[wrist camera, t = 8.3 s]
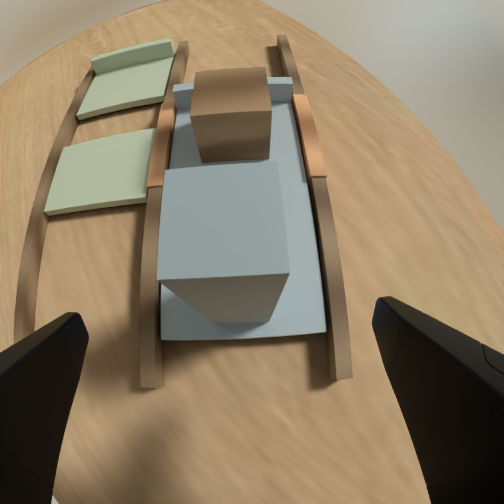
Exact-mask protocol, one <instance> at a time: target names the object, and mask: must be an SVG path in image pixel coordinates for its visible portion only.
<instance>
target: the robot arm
mask: <svg viewBox="0 0 504 504" xmlns="http://www.w3.org/2000/svg"><path fill="white" fill-rule="evenodd" d="M372 327H373V331H374V334H375V337H376V340H377V344H378V347H379V350H380V354H381V357H382V361H383V364H384V367H385V370H386V373H387V376H388V378H389V380H390V383H391V385H392V388H393V391H394V393H395V396H396V398H397V401H398V403H399V406H400V409H401V411H402V414H403V417H404V419H405V422H406V425H407V428H408V431H409V433H410V436H411V439H412V442H413V445H414V448H415V451H416V454H417V457H418V460H419V463H420V466H421V470H422V473H423V476H424V479H425V483H426V487H427V490H428V494H429V497H430V501H431V504H504V354H502V353H500V352H498V351H496V350H494V349H492V348H490V347H488V346H486V345H484V344H481V343H480V342H479V341H477V340H475V339H473V338H471V337H469V336H467V335H465V334H464V333H462V332H460V331H458V330H456V329H454V328H452V327H450V326H448V325H446V324H444V323H442V322H440V321H438V320H437V319H435V318H433V317H431V316H429V315H427V314H425V313H423V312H421V311H419V310H417V309H415V308H413V307H411V306H409V305H407V304H405V303H403V302H401V301H399V300H397V299H395V298H393V297H391V296H387V297H380V298H378V299H377V301H376V305H375V310H374V314H373V319H372ZM88 340H89V335H88V332H87V329H86V327H85V325H84V322H83V320H82V317H81V315H80V314H79V313H77V312H67V313H65V314H63V315H62V316H60V317H58V318H57V319H55V320H53V321H52V322H50V323H48V324H46V325H45V326H43V327H41V328H40V329H38V330H36V331H35V332H33V333H31V334H30V335H28V336H27V337H25V338H23V339H22V340H20V341H18V342H17V343H15V344H14V345H12V346H10V347H9V348H7V349H5V350H4V351H2V352H1V353H0V504H51V501H52V494H53V487H54V481H55V475H56V469H57V464H58V459H59V455H60V450H61V445H62V441H63V437H64V433H65V429H66V425H67V421H68V417H69V414H70V410H71V406H72V403H73V399H74V396H75V393H76V389H77V386H78V383H79V379H80V375H81V371H82V366H83V362H84V357H85V353H86V349H87V345H88Z"/></svg>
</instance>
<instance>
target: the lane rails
mask: <svg viewBox="0 0 504 504" xmlns="http://www.w3.org/2000/svg"><path fill="white" fill-rule="evenodd" d="M277 47H278V51H279V55H280V59H281V63H282V67H283V71H284V75H285V77H292V81H293V90H292V98H291V104H292V109H293V114H294V118H295V123H296V128H297V133H298V137H299V142H300V147H301V153H302V158H303V163H304V169H305V174H306V180H307V185H308V191H309V197H310V203H311V209H312V216H313V222H314V229H315V236H316V243H317V250H318V258H319V265H320V273H321V282H322V290H323V300H324V309H325V319H326V330H327V342H328V355H329V369H330V378H331V379H334V380H342V379H348V378H353V375H352V360H351V347H350V336H349V326H348V316H347V307H346V298H345V290H344V283H343V275H342V268H341V262H340V255H339V249H338V242H337V236H336V230H335V225H334V219H333V214H332V208H331V203H330V198H329V193H328V188H327V183H326V177H327V173H326V168H325V164H324V160H323V155H322V151H321V147H320V143H319V139H318V135H317V131H316V127H315V123H314V120H313V116H312V112H311V109H310V105H309V102H308V98H307V95H306V94H304V91H303V87H302V84H301V80H300V77H299V74H298V70H297V67H296V64H295V61H294V58H293V55H292V52H291V49H290V46H289V43H288V40H287V37H286V35H277ZM188 55H189V46H188V41H183V42H179V45H178V48H177V52H176V55H175V59H174V63H173V66H172V70H171V74H170V78H169V82H168V86H167V91H166V95H165V99H164V103H163V104H161V109H160V113H159V118H158V123H157V128H156V133H155V138H154V144H153V149H152V155H151V161H150V167H149V174H148V180H147V188H148V198H147V206H146V215H145V225H144V235H143V247H142V262H141V280H140V310H139V350H140V379H141V387H145V388H159V387H162V386H164V374H163V345H162V340H161V283H160V282H159V281H158V280H157V260H158V242H159V228H160V215H161V204H162V194H163V184H164V175H165V170H169V167H170V158H171V150H172V143H173V136H174V129H175V122H176V116H177V106H176V103H175V99H174V96H173V92H172V91H173V87H174V85H177V84H183V80H184V75H185V70H186V65H187V60H188ZM95 76H96V73H95V71H94V69H93V67H92V66H91V68H90V69H89V71H88V73H87V75H86V76H85V78H84V80H83V82H82V84H81V86H80V87H79V89H78V91H77V93H76V95H75V97H74V99H73V101H72V103H71V105H70V107H69V109H68V112H67V114H66V116H65V118H64V120H63V123H62V125H61V127H60V129H59V132H58V134H57V137H56V139H55V142H54V144H53V147H52V149H51V152H50V154H49V157H48V160H47V163H46V166H45V168H44V171H43V174H42V177H41V181H40V184H39V187H38V190H37V194H36V197H35V201H34V204H33V208H32V212H31V216H30V220H29V224H28V228H27V233H26V238H25V243H24V248H23V253H22V259H21V265H20V272H19V279H18V287H17V296H16V307H15V322H14V344H15V343H17V342H18V341H20V340H22V339H23V338H25V337H27V336H28V335H30V334H31V333H33V332H34V323H35V307H36V295H37V285H38V277H39V269H40V263H41V256H42V250H43V244H44V239H45V234H46V229H47V224H48V220H49V216H48V215H47V214H46V213H45V212H44V210H45V206H46V202H47V198H48V194H49V191H50V187H51V184H52V180H53V177H54V174H55V171H56V168H57V165H58V162H59V159H60V156H61V153H62V150H63V148H64V147H67V146H70V144H71V142H72V139H73V136H74V134H75V131H76V129H77V126H78V124H79V121H80V120H79V119H78V117H77V116H76V115H77V113H78V111H79V108H80V106H81V104H82V102H83V100H84V98H85V96H86V93H87V91H88V89H89V87H90V85H91V83H92V82H93V80H94V78H95Z"/></svg>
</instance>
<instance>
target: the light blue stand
mask: <svg viewBox="0 0 504 504" xmlns="http://www.w3.org/2000/svg"><path fill="white" fill-rule="evenodd" d="M267 81H268V87H269V93H270V100H271V106H272V123H271V140H270V156H269V159H258V160H239V161H224V162H211V163H202V162H201V158H200V154H199V150H198V146H197V143H196V139H195V135H194V131H193V127H192V123H191V119H190V111H191V103H192V95H193V88H194V82H192V83H184V84H177V85H174V87H173V91H172V92H173V96H174V99H175V103H176V106H177V116H176V122H175V129H174V136H173V143H172V150H171V158H170V167H169V170H165V175H164V184H163V194H162V204H161V215H160V228H159V242H158V260H157V280H158V281H159V282H160V283H161V340H228V339H250V338H267V337H281V336H294V335H305V334H315V333H324V332H327V331H326V320H325V310H324V300H323V291H322V282H321V274H320V266H319V258H318V250H317V243H316V236H315V229H314V223H313V216H312V210H311V203H310V197H309V191H308V185H307V180H306V174H305V169H304V163H303V158H302V153H301V147H300V142H299V137H298V133H297V128H296V123H295V118H294V114H293V109H292V105H291V98H292V90H293V81H292V77H267Z"/></svg>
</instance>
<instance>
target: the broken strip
mask: <svg viewBox="0 0 504 504" xmlns="http://www.w3.org/2000/svg"><path fill="white" fill-rule="evenodd" d="M175 55H176V54H175V49H174V45H173V41H172V38H168V39H163V40H157V41H153V42H148V43H143V44H139V45H135V46H131V47H127V48H123V49H119V50H116V51H112V52H109V53H105V54H102V55H99V56H96V57H93V58H92V60H91V61H90V62H91V65H92V67H93V69H94V71H95V73H96V76H95V78H94V80H93V82H92V83H91V85H90V87H89V89H88V91H87V93H86V96H85V98H84V100H83V102H82V104H81V106H80V108H79V111H78V113H77V115H76V116H77V117H78V119H79V120H82V119H85V118H89V117H93V116H97V115H100V114H104V113H109V112H113V111H117V110H122V109H126V108H131V107H136V106H141V105H147V104H152V103H158V102H164V99H165V95H166V91H167V86H168V82H169V78H170V74H171V70H172V66H173V63H174V59H175ZM155 133H156V128H152V129H146V130H140V131H134V132H129V133H123V134H118V135H113V136H109V137H104V138H100V139H95V140H91V141H87V142H83V143H79V144H75V145H71V146H67V147H64V148H63V150H62V153H61V156H60V159H59V162H58V165H57V168H56V171H55V174H54V177H53V180H52V184H51V187H50V191H49V194H48V198H47V202H46V206H45V210H44V212H45V213H46V214H47V215H48V216H50V215H57V214H63V213H69V212H76V211H83V210H90V209H97V208H105V207H113V206H121V205H129V204H138V203H147V198H148V188H147V180H148V174H149V167H150V161H151V155H152V149H153V144H154V138H155Z"/></svg>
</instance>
